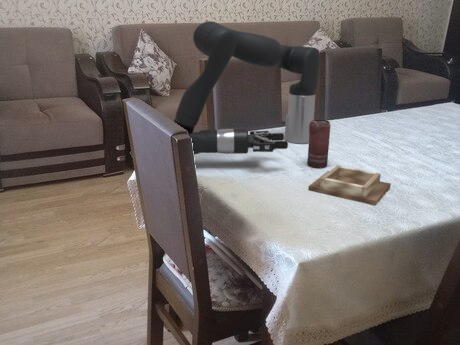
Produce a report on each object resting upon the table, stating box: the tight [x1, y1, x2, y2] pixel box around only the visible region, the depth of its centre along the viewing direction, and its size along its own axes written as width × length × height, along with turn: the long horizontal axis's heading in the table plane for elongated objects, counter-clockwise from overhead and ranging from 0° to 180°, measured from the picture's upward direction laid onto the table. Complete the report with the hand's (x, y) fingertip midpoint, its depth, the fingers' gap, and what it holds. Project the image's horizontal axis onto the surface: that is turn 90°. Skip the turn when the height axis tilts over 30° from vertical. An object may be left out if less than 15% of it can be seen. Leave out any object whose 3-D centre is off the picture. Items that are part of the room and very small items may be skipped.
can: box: [307, 119, 331, 169], centre depth 139 cm, size 6×6×14 cm
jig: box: [307, 164, 392, 206], centre depth 122 cm, size 18×14×4 cm
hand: (285, 140), depth 138 cm, fingers open, 8 cm apart
